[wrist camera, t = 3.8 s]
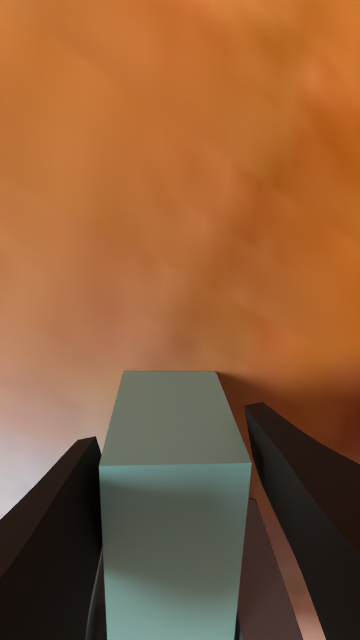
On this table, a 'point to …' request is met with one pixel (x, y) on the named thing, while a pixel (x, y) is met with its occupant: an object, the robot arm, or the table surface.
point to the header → (253, 599)
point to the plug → (172, 508)
